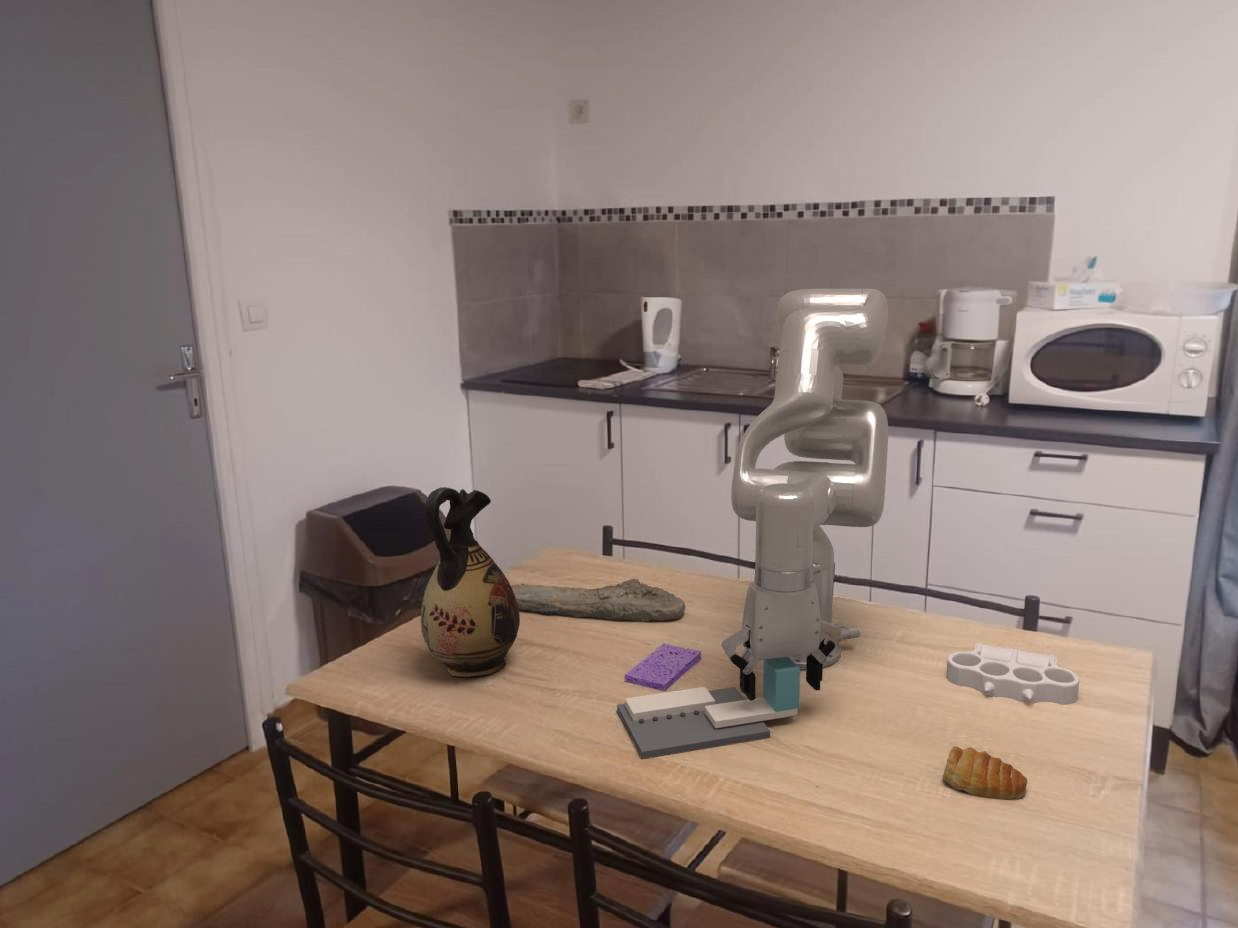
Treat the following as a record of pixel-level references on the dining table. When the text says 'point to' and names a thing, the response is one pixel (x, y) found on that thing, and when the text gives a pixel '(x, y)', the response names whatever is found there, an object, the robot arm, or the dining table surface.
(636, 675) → the sponges
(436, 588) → the ceramic jug
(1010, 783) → the pastry
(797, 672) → the stub
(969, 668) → the knuckle duster
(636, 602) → the elongated rock
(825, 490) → the robot arm
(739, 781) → the dining table surface
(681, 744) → the mat
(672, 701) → the ticket
